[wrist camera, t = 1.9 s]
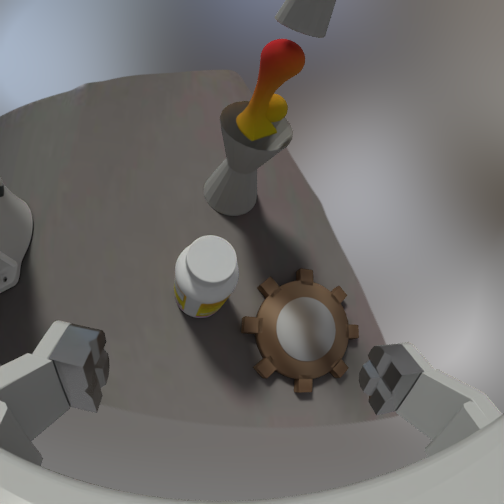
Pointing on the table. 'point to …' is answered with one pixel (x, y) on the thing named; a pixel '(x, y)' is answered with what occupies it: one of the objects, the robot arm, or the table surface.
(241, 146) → the lava lamp
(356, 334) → the gear platform
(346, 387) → the table surface
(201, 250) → the supplement bottle
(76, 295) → the table surface
